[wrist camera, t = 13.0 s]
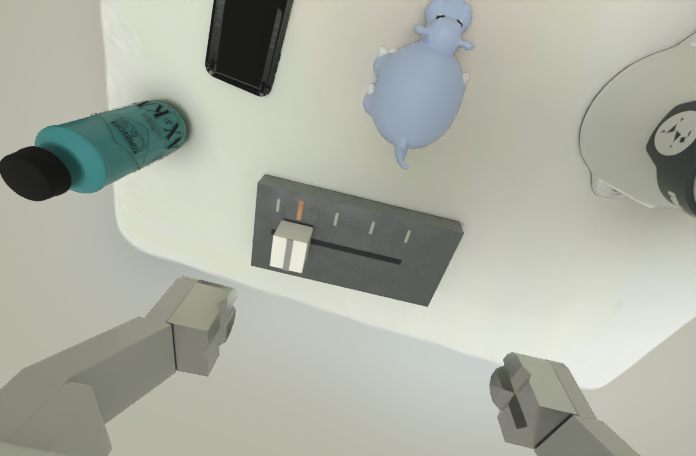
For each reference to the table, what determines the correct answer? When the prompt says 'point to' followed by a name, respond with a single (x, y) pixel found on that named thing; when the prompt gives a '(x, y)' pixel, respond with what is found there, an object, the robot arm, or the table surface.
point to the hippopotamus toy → (421, 80)
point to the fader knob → (290, 246)
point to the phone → (247, 42)
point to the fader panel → (357, 240)
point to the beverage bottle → (94, 150)
